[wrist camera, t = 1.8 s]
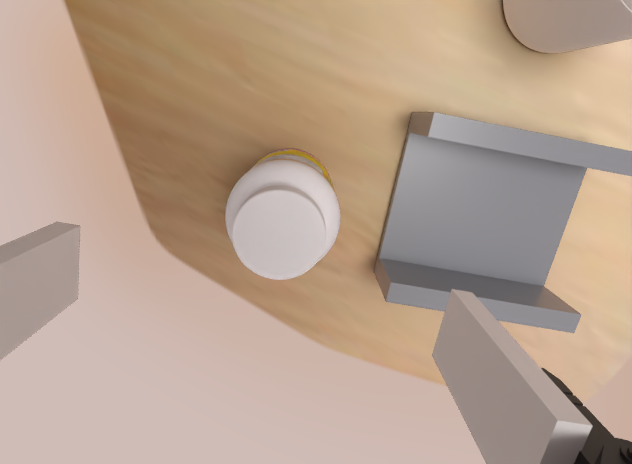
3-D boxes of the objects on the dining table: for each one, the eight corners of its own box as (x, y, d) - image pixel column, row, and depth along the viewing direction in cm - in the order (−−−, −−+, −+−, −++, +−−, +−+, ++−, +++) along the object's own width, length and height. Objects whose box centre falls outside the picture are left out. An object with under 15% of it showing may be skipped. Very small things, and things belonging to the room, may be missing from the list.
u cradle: (412, 111, 31) (434, 112, 25) (587, 146, 32) (646, 154, 26) (373, 271, 35) (385, 301, 29) (532, 298, 36) (573, 333, 30)
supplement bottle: (314, 242, 34) (316, 317, 22) (236, 213, 33) (193, 274, 21) (345, 165, 32) (367, 199, 20) (264, 133, 31) (235, 148, 19)
